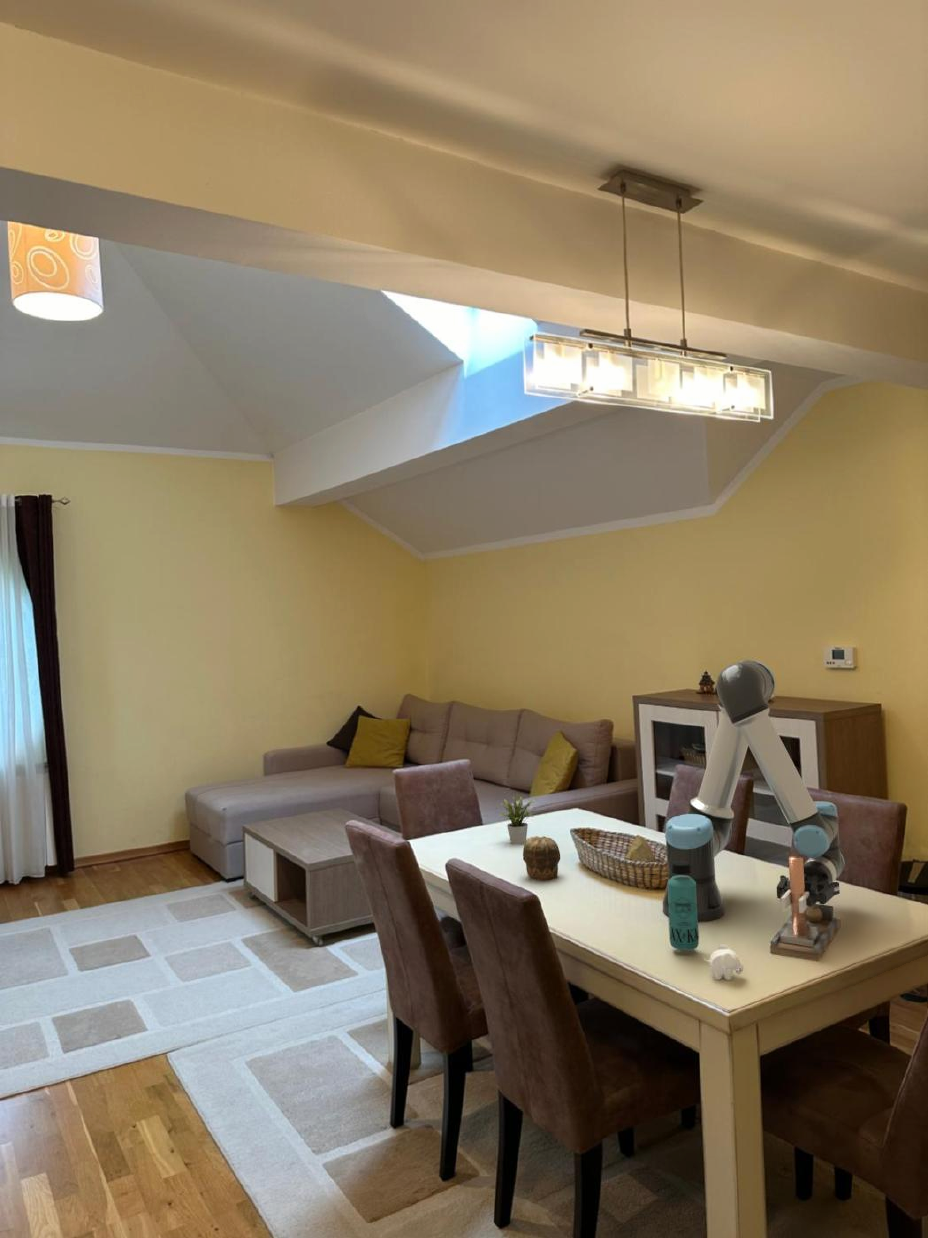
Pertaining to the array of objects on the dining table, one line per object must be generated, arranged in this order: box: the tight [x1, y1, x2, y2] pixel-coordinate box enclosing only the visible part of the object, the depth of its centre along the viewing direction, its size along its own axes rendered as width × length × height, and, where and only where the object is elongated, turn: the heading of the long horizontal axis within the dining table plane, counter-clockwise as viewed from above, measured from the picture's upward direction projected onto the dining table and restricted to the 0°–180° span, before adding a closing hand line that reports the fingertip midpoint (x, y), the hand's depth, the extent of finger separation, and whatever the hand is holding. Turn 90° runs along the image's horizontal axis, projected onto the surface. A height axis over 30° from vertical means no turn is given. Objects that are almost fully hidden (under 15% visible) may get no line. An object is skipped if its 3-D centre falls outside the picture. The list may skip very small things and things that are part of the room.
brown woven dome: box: [522, 835, 561, 882], centre depth 253 cm, size 11×11×12 cm
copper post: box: [780, 855, 820, 947], centre depth 191 cm, size 6×7×18 cm
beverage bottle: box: [666, 861, 700, 951], centre depth 192 cm, size 6×7×20 cm
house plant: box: [499, 795, 537, 845], centre depth 294 cm, size 14×14×16 cm
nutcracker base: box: [769, 903, 842, 962], centre depth 196 cm, size 24×10×5 cm, turn 145°
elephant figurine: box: [703, 944, 745, 981], centre depth 177 cm, size 7×8×6 cm
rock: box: [625, 834, 657, 863], centre depth 255 cm, size 11×9×10 cm
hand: (791, 905), depth 186 cm, fingers closed on copper post, 3 cm apart
